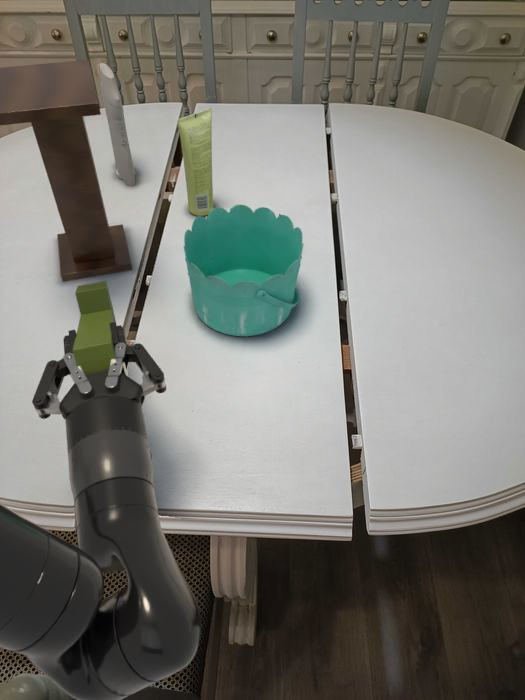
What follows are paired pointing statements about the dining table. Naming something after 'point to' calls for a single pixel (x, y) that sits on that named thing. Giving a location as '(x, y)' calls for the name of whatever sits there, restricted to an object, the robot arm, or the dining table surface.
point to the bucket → (243, 269)
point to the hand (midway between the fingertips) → (93, 331)
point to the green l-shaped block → (94, 328)
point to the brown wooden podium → (67, 160)
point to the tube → (198, 160)
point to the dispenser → (117, 126)
